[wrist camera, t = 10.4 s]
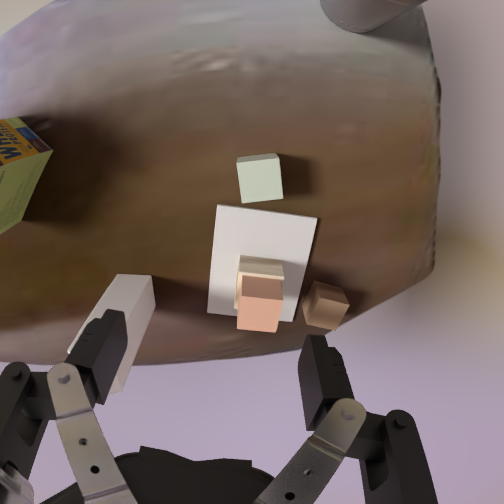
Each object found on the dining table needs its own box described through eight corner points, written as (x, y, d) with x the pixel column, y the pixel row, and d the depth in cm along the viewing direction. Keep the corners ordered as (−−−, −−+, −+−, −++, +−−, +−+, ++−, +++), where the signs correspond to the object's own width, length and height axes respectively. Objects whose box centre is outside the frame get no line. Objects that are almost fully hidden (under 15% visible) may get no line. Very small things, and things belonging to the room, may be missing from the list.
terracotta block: (242, 275, 41) (241, 295, 37) (279, 279, 41) (283, 300, 37) (237, 306, 43) (236, 328, 39) (273, 309, 44) (275, 332, 39)
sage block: (238, 157, 40) (236, 162, 36) (275, 152, 40) (279, 158, 35) (242, 193, 42) (242, 203, 38) (279, 188, 42) (283, 198, 37)
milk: (123, 303, 50) (72, 401, 30) (117, 272, 47) (55, 368, 27) (156, 306, 50) (115, 411, 30) (152, 274, 47) (100, 377, 27)
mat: (217, 203, 43) (217, 205, 42) (316, 217, 44) (317, 218, 43) (207, 310, 50) (207, 312, 50) (291, 319, 51) (292, 321, 51)
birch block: (240, 254, 45) (239, 271, 41) (280, 259, 46) (284, 276, 41) (235, 289, 48) (233, 308, 43) (273, 294, 48) (276, 313, 44)
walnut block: (313, 280, 48) (320, 297, 44) (341, 287, 49) (349, 305, 44) (301, 305, 50) (306, 324, 46) (328, 311, 51) (335, 330, 46)
